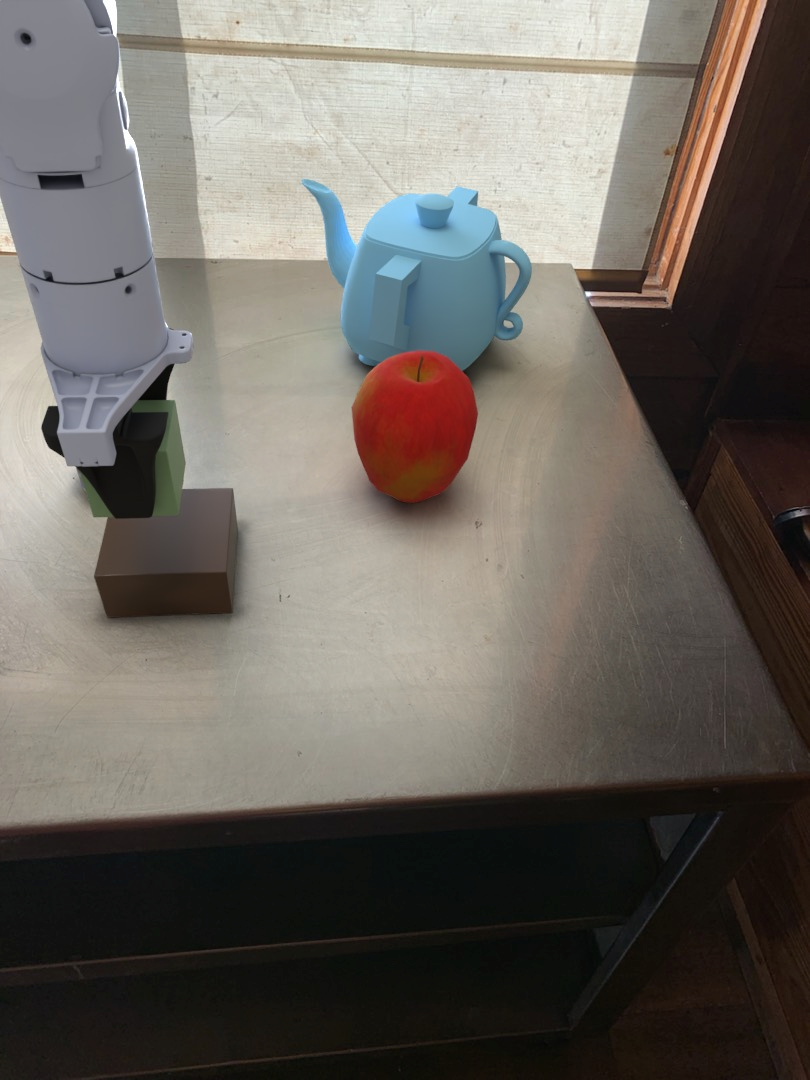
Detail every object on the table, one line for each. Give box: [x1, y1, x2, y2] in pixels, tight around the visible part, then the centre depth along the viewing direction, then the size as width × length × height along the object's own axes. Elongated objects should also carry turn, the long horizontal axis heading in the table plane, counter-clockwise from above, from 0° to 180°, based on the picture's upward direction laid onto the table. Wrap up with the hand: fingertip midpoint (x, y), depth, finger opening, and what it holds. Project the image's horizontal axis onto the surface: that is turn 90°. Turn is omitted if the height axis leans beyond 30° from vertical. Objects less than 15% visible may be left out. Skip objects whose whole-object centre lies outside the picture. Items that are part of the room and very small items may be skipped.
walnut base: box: [93, 487, 239, 618], centre depth 53 cm, size 8×8×4 cm
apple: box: [351, 351, 479, 504], centre depth 58 cm, size 9×9×12 cm
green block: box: [80, 399, 187, 519], centre depth 44 cm, size 5×5×5 cm
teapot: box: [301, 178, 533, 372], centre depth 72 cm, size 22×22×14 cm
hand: (139, 483), depth 45 cm, fingers closed on green block, 4 cm apart
